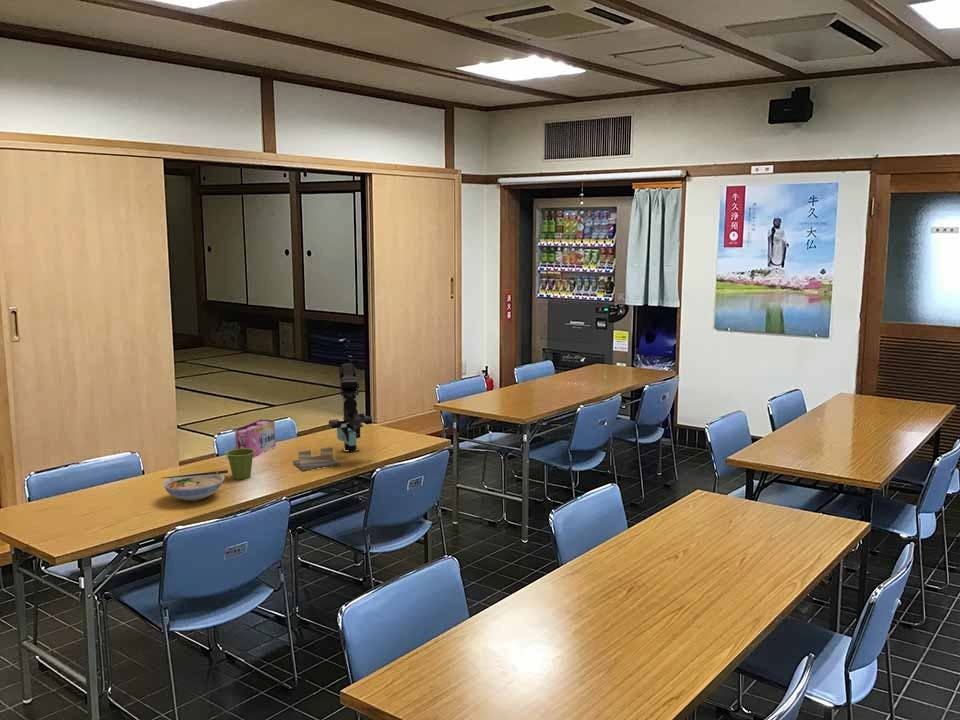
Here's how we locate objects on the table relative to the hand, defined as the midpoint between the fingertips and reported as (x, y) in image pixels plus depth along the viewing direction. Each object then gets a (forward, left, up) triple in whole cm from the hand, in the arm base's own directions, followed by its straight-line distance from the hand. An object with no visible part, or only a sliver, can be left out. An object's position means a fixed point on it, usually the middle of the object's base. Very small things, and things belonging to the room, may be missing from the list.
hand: (351, 440), depth 359 cm
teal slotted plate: (-6, 0, -2) cm, 7 cm away
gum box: (-43, -33, -11) cm, 55 cm away
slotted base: (-7, -14, -10) cm, 19 cm away
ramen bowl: (+17, -70, -11) cm, 73 cm away
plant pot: (-3, -48, -11) cm, 49 cm away
